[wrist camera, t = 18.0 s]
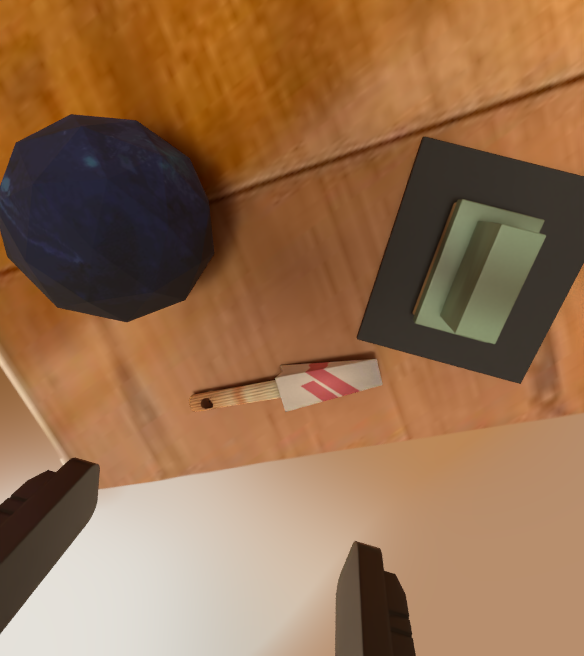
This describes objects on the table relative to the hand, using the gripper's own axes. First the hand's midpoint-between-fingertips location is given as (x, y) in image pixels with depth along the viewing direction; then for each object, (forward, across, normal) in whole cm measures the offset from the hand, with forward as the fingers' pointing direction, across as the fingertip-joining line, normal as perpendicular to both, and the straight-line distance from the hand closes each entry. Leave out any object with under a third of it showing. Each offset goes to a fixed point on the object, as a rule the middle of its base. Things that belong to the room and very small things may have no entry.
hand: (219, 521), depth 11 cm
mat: (+26, -14, -7) cm, 30 cm away
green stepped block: (+26, -13, -7) cm, 29 cm away
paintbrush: (+26, 0, +9) cm, 28 cm away
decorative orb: (+26, +15, -4) cm, 31 cm away
